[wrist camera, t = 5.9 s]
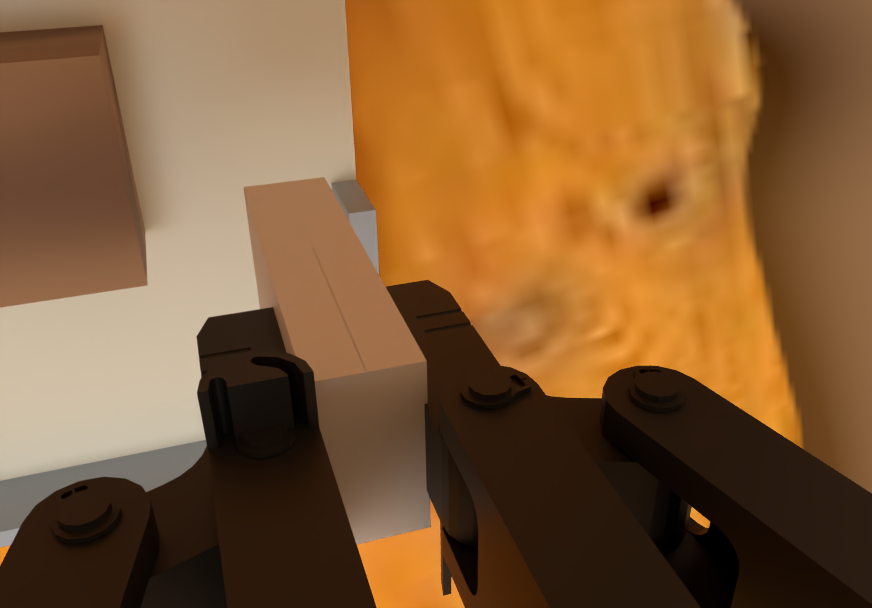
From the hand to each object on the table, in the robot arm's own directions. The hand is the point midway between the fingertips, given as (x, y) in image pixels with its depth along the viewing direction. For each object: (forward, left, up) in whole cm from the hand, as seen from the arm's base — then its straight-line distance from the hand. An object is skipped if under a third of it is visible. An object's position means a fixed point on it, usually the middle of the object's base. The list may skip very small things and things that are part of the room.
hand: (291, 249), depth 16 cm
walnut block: (+1, -6, -10) cm, 12 cm away
